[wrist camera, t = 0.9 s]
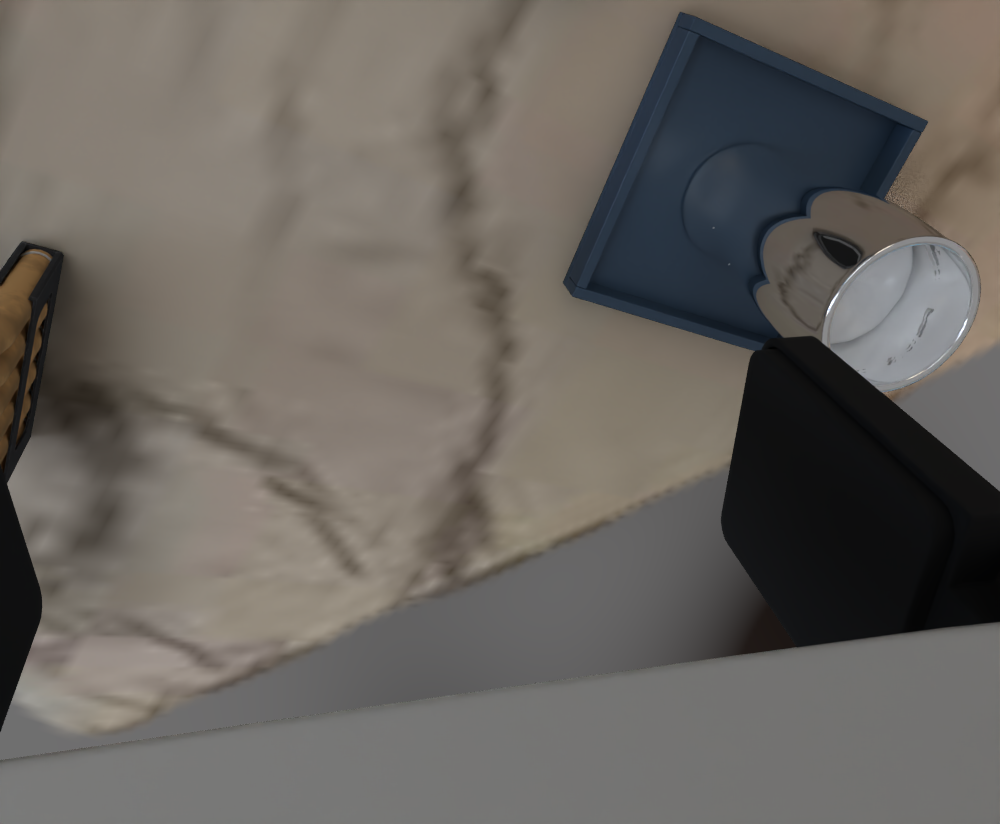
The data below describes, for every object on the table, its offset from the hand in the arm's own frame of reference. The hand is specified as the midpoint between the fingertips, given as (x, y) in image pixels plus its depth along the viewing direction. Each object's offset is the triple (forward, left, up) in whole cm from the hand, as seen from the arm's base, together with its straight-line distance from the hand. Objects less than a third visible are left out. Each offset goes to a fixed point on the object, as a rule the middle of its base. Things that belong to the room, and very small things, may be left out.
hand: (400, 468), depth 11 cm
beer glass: (0, +22, -33) cm, 40 cm away
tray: (0, +22, -33) cm, 40 cm away
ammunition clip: (+18, -10, -33) cm, 39 cm away
